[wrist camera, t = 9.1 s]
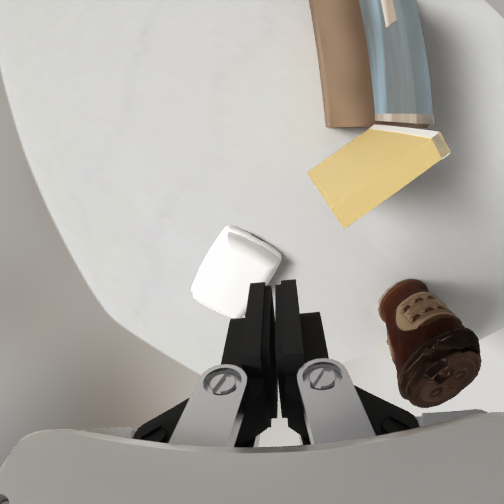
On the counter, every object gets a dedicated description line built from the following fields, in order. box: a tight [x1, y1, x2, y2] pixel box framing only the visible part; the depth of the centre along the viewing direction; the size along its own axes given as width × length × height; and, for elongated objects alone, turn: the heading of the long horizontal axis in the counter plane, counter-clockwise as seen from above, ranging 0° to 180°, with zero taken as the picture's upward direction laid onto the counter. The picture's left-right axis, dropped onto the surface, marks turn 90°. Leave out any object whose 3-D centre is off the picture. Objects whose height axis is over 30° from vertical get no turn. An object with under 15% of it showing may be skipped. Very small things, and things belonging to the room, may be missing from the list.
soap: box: [191, 225, 282, 319], centre depth 31 cm, size 9×7×3 cm
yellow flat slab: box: [307, 124, 450, 229], centre depth 18 cm, size 1×7×10 cm, turn 129°
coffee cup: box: [378, 279, 481, 408], centre depth 26 cm, size 9×8×13 cm
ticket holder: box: [309, 0, 434, 128], centre depth 18 cm, size 9×14×10 cm, turn 7°
